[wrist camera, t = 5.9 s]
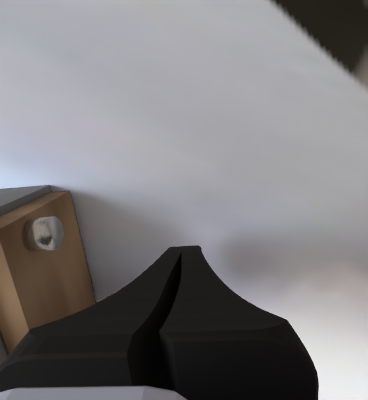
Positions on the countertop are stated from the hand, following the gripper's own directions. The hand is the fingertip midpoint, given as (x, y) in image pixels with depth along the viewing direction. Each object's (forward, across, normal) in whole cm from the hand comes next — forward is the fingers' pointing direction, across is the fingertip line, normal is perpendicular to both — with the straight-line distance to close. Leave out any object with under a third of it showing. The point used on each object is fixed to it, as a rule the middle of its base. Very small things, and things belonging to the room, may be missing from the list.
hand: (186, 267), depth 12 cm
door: (+2, +5, +3) cm, 6 cm away
